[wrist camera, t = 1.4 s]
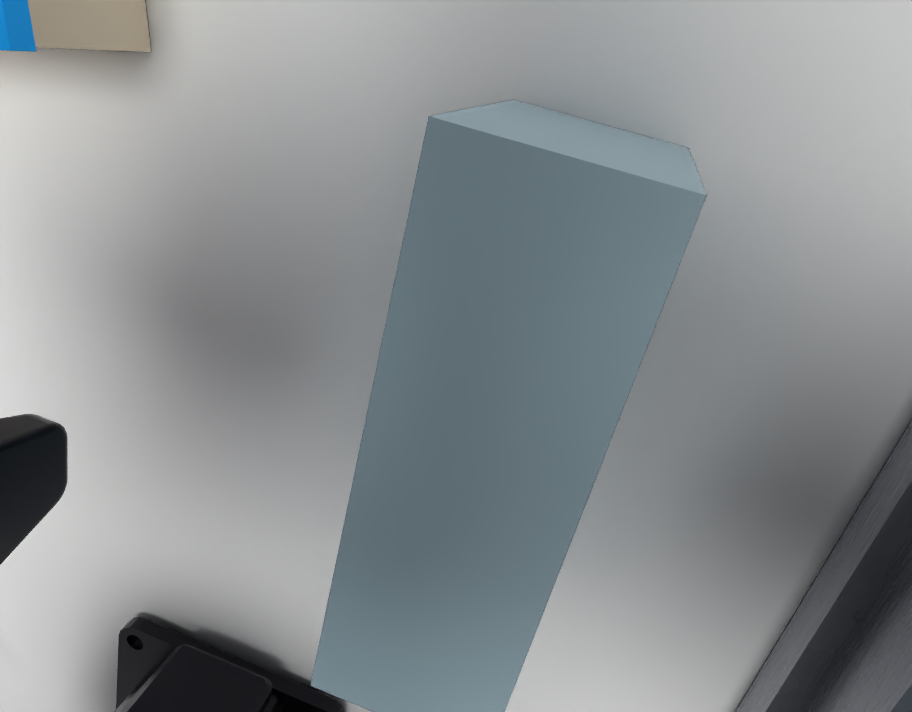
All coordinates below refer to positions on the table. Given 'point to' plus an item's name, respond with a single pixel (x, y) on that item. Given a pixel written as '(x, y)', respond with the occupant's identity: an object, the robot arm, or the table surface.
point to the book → (74, 25)
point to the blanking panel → (496, 395)
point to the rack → (853, 614)
